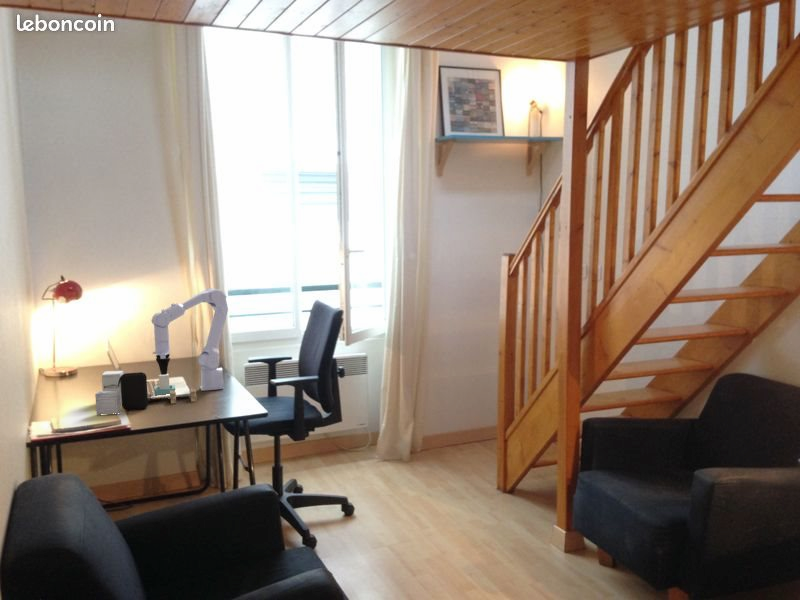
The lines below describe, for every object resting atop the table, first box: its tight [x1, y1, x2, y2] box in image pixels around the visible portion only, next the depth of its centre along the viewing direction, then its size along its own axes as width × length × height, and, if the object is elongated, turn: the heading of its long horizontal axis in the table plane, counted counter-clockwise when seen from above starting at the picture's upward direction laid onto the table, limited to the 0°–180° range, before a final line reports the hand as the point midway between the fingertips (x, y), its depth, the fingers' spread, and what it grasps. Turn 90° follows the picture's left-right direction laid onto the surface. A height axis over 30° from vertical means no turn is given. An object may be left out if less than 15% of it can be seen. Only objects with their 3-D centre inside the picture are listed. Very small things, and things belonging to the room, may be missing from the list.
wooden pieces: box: [170, 388, 198, 404], centre depth 300 cm, size 10×6×4 cm, turn 109°
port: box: [153, 384, 176, 396], centre depth 310 cm, size 12×12×4 cm
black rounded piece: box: [118, 371, 149, 411], centre depth 286 cm, size 11×3×15 cm, turn 106°
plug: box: [158, 373, 170, 389], centre depth 309 cm, size 4×4×8 cm
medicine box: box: [94, 390, 122, 416], centre depth 280 cm, size 8×4×9 cm, turn 92°
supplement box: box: [101, 370, 124, 405], centre depth 299 cm, size 7×7×13 cm
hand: (163, 372), depth 309 cm, fingers open, 7 cm apart
